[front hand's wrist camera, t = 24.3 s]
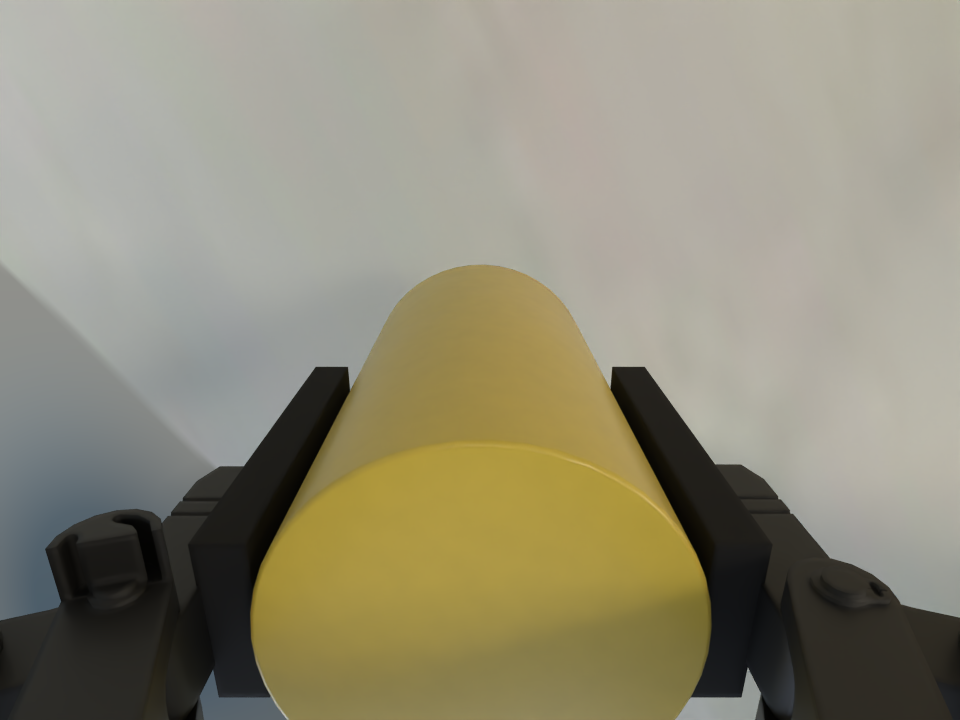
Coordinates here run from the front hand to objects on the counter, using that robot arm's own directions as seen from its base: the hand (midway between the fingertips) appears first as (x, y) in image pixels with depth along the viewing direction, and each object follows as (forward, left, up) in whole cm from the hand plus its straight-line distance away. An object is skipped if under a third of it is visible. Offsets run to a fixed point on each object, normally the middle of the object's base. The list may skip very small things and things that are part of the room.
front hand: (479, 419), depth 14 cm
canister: (0, 0, -4) cm, 4 cm away
